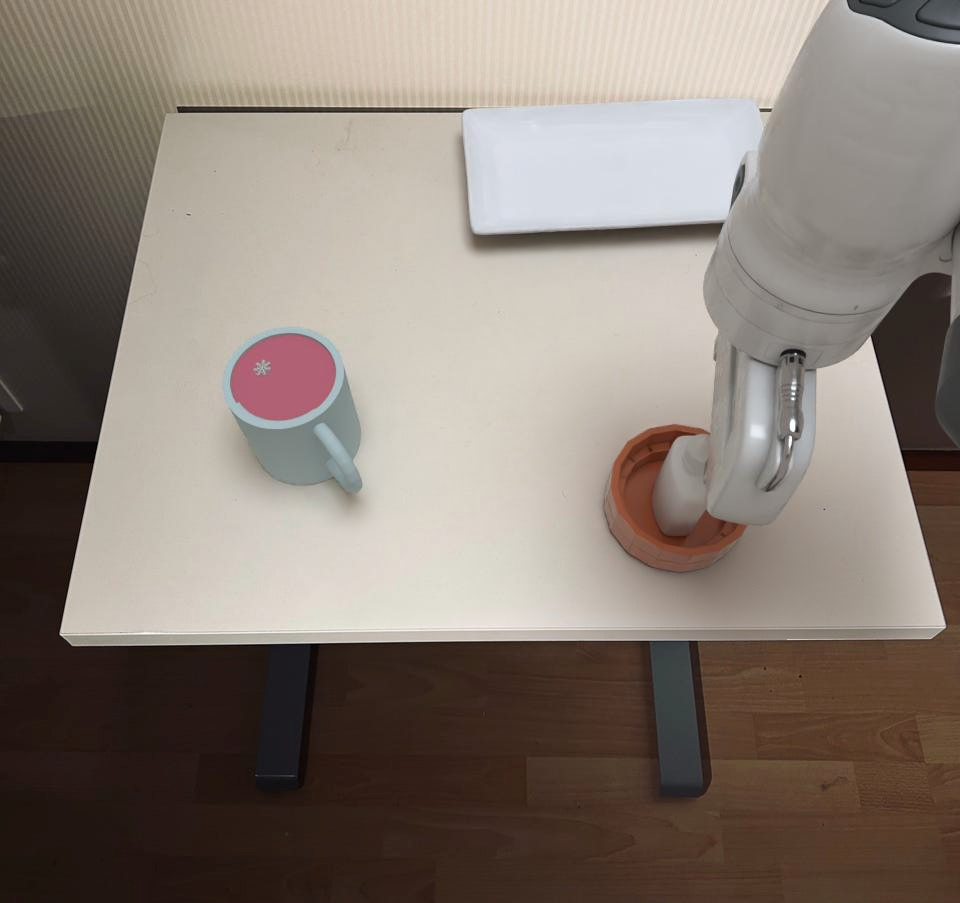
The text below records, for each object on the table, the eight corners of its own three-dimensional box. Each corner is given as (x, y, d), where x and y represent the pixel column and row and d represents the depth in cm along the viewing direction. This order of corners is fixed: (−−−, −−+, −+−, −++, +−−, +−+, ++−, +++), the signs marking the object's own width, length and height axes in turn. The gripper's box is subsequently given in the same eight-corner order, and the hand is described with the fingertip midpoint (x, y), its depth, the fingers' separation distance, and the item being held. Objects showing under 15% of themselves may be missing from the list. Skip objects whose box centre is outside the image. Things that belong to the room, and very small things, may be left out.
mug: (235, 428, 70) (200, 366, 61) (324, 374, 73) (303, 307, 64) (318, 546, 65) (293, 497, 56) (411, 483, 68) (401, 427, 59)
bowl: (741, 462, 69) (757, 438, 65) (734, 585, 64) (751, 567, 60) (612, 439, 70) (620, 414, 66) (595, 559, 65) (602, 539, 61)
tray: (783, 240, 80) (795, 215, 77) (469, 255, 79) (469, 230, 76) (746, 121, 88) (756, 94, 84) (460, 134, 87) (460, 107, 83)
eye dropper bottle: (709, 491, 67) (753, 421, 56) (683, 546, 65) (724, 485, 54) (661, 468, 68) (695, 395, 57) (634, 522, 66) (664, 457, 55)
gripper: (865, 474, 35) (762, 572, 48) (860, 147, 44) (774, 300, 57) (722, 448, 36) (657, 551, 48) (745, 129, 45) (685, 286, 57)
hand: (720, 414), depth 52 cm, fingers open, 8 cm apart
